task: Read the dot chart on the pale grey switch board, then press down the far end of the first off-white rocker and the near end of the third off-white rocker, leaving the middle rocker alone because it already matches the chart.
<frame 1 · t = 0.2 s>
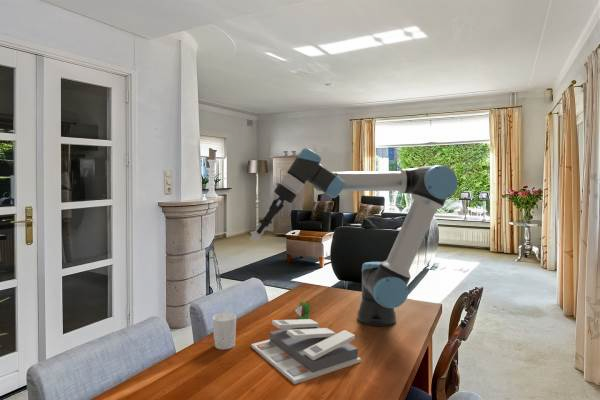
hand: (254, 238, 138), 36 cm above the table, tool tilted 35°, fingers open, 13 cm apart
white cup: (225, 346, 133), on the table
rocker 3: (329, 344, 119), point 6 cm above the table, hinge at 10.0°
switch unit: (303, 354, 126), on the table
rocker 2: (311, 333, 127), point 6 cm above the table, hinge at -10.0°
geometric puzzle: (304, 319, 157), on the table
rocker 1: (295, 323, 136), point 6 cm above the table, hinge at -10.0°
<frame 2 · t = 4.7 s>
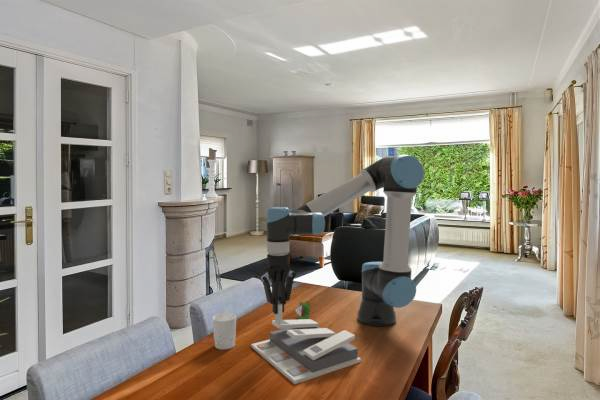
hand: (278, 322, 132), 8 cm above the table, tool pointing down, fingers closed
rocker 1: (295, 323, 136), point 6 cm above the table, hinge at -10.0°, touching gripper
everything else where it was.
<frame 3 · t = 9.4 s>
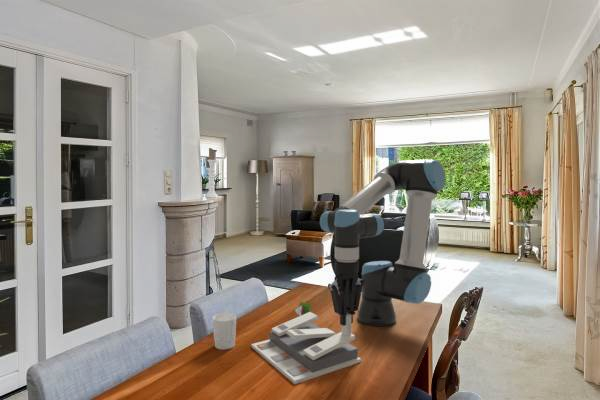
hand: (346, 334, 122), 8 cm above the table, tool pointing down, fingers closed, pressing on rocker 3
rocker 3: (329, 344, 119), point 6 cm above the table, hinge at 9.7°, touching gripper
rocker 1: (295, 323, 136), point 6 cm above the table, hinge at 9.9°
everything else where it was.
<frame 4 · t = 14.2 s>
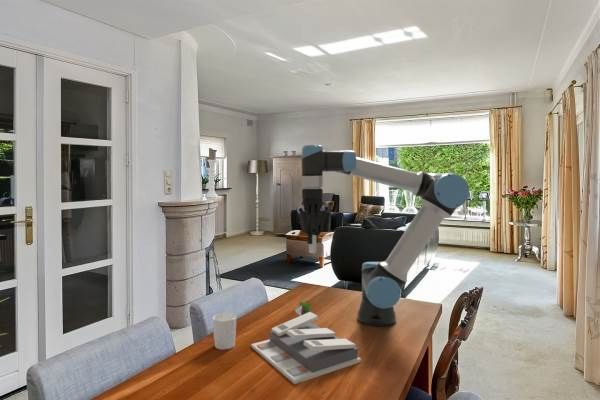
hand: (312, 252, 143), 29 cm above the table, tool pointing down, fingers closed
rocker 3: (329, 344, 119), point 6 cm above the table, hinge at -11.0°
everything else where it was.
at the end: rocker 1 at +10° (first picture: -10°); rocker 2 at -10° (first picture: -10°); rocker 3 at -11° (first picture: +10°) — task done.
